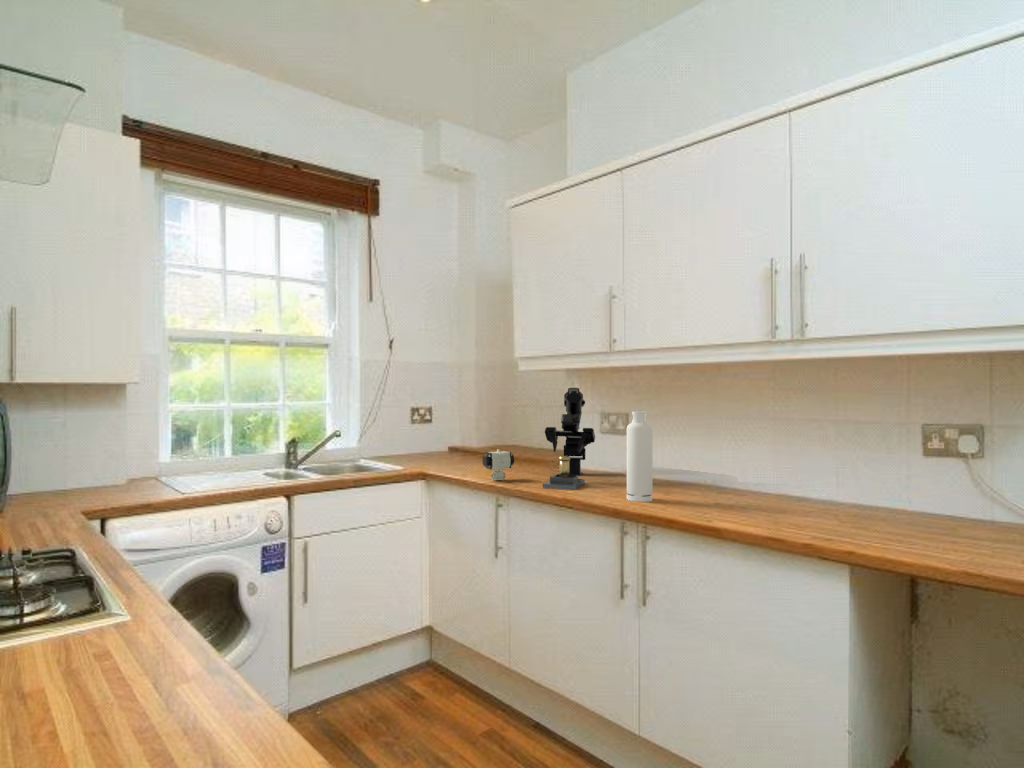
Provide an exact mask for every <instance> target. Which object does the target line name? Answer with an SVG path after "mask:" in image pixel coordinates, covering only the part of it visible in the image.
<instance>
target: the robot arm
mask: <svg viewBox="0 0 1024 768" xmlns="http://www.w3.org/2000/svg"><path fill="white" fill-rule="evenodd" d="M563 396H564V397H563V406H564V407H565V412H566V413H563V414H561V417H560V423H561V424H562V425H561V429H562V430H557V427H555V426H546V428H545V429H544V434H545V438H546V441H548V442H549V443H551V444H552V447H553V448H552V449H553V453H555V452H556V451H557V446H558V438H559V437H565V442H564V443H565V444H563V456H569V457H570V461H569V475H578V476H581V475H582V474H583V471H582V470H581V469H582V468H581V462H582V461H584V460H586V448H585V447H587V446H588V445H590V444H592V443H593V444H594V443H595V441H596V434H595V429H594V428H593V427H583V428H582V431H579V430H580V424H581V419H582V408H584V405H585V404H586V400H584V394H583V393H582V392H581V391H580V388H579V387H569V388H568V389H567V391H566V392H565V393H564V395H563Z"/></svg>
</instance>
